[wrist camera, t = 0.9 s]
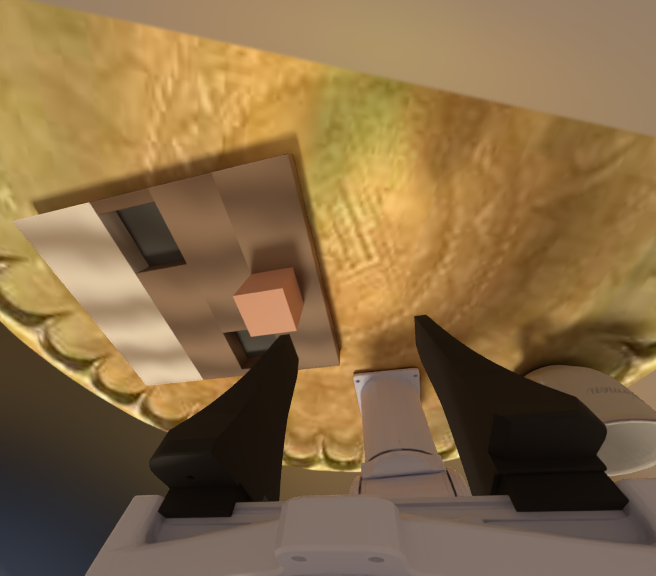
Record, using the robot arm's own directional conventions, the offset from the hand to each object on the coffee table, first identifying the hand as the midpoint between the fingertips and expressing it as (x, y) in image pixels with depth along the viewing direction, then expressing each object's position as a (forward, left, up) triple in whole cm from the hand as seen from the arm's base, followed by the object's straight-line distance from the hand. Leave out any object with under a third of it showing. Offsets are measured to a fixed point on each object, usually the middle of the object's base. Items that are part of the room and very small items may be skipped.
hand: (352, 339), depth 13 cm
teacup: (-18, -20, -11) cm, 29 cm away
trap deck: (0, +15, -10) cm, 18 cm away
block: (0, +7, -8) cm, 11 cm away
